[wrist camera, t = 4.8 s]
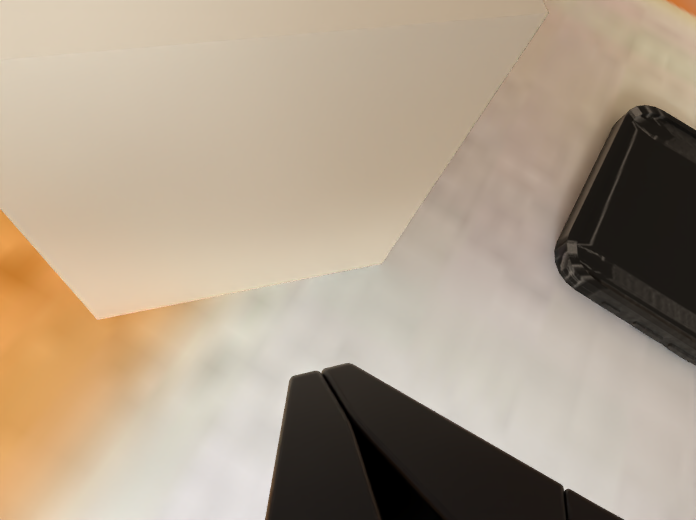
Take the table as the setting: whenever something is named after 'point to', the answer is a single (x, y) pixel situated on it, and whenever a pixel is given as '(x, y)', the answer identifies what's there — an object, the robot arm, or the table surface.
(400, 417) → the robot arm
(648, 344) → the table surface
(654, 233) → the phone
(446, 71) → the cream flat block
